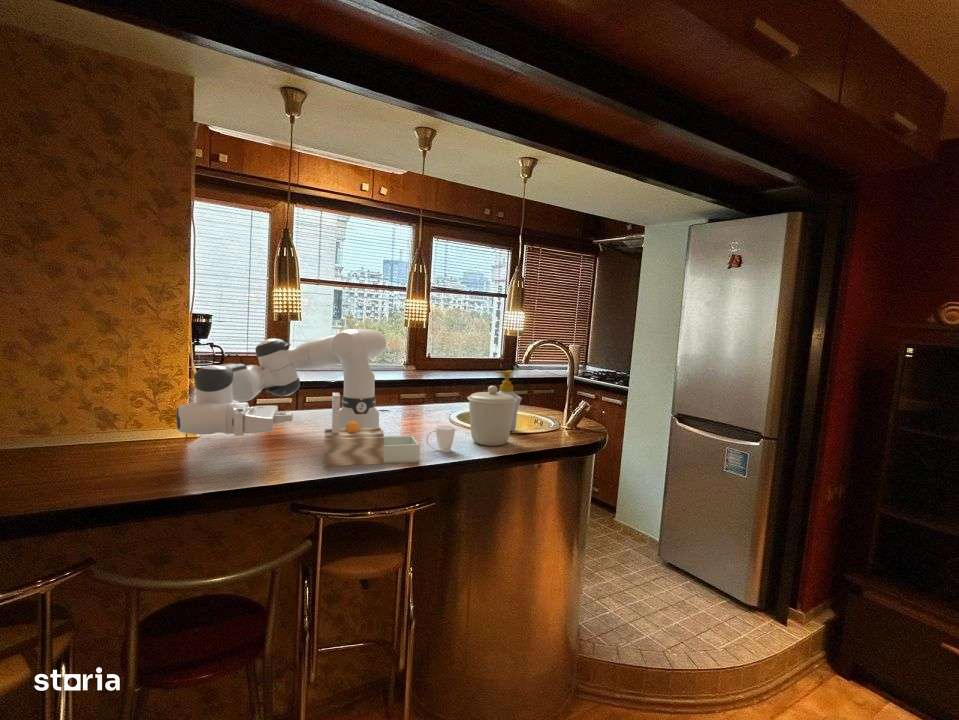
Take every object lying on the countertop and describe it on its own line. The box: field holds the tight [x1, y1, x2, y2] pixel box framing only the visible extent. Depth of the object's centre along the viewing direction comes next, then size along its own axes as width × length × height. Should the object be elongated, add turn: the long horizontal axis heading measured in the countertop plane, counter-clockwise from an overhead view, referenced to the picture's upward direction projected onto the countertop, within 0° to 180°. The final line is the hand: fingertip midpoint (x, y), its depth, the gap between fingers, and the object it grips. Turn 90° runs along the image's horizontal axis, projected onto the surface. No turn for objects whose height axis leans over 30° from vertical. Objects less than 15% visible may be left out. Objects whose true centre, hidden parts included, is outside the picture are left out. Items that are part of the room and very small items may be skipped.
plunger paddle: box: [331, 392, 341, 434], centre depth 148 cm, size 2×6×12 cm, turn 18°
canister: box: [466, 385, 517, 447], centre depth 179 cm, size 18×18×21 cm
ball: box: [346, 421, 359, 434], centre depth 150 cm, size 4×4×4 cm
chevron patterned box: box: [323, 427, 385, 467], centre depth 151 cm, size 17×11×9 cm
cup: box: [426, 424, 457, 453], centre depth 166 cm, size 7×10×8 cm
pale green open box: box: [382, 435, 420, 465], centre depth 155 cm, size 11×11×6 cm
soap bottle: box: [496, 369, 523, 432], centre depth 200 cm, size 13×13×25 cm
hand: (292, 417), depth 145 cm, fingers closed
